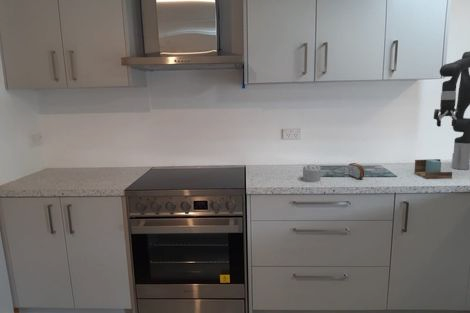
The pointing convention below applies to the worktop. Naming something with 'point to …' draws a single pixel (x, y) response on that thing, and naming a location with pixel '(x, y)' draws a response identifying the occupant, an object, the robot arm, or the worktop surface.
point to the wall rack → (420, 171)
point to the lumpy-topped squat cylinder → (311, 173)
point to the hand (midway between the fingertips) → (446, 126)
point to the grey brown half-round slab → (356, 170)
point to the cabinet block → (433, 166)
